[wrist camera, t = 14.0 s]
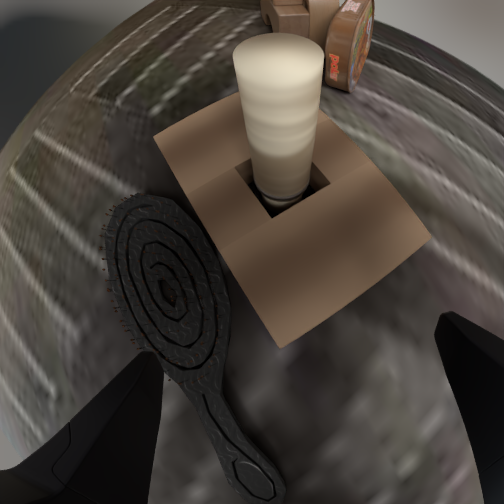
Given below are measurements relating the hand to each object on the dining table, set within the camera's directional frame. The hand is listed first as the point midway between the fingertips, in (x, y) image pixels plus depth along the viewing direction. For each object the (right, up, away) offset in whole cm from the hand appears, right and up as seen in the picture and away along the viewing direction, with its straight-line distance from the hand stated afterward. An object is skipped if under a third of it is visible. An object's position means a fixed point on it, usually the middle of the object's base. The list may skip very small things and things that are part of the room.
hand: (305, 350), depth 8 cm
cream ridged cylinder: (+1, +7, +13) cm, 15 cm away
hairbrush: (-5, -5, +11) cm, 13 cm away
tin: (+9, +23, +18) cm, 31 cm away
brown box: (+1, +7, +13) cm, 15 cm away
